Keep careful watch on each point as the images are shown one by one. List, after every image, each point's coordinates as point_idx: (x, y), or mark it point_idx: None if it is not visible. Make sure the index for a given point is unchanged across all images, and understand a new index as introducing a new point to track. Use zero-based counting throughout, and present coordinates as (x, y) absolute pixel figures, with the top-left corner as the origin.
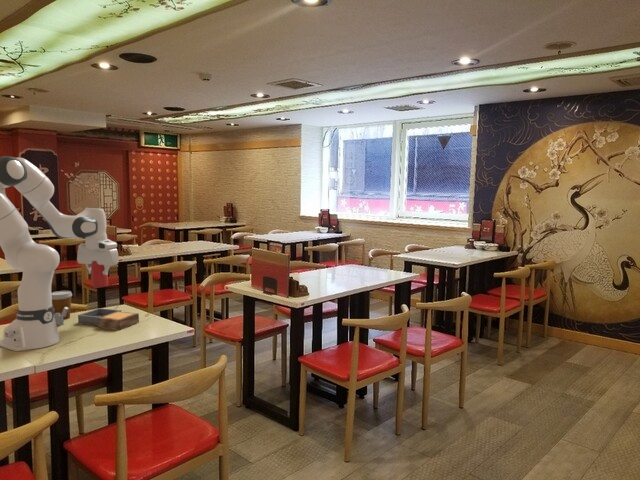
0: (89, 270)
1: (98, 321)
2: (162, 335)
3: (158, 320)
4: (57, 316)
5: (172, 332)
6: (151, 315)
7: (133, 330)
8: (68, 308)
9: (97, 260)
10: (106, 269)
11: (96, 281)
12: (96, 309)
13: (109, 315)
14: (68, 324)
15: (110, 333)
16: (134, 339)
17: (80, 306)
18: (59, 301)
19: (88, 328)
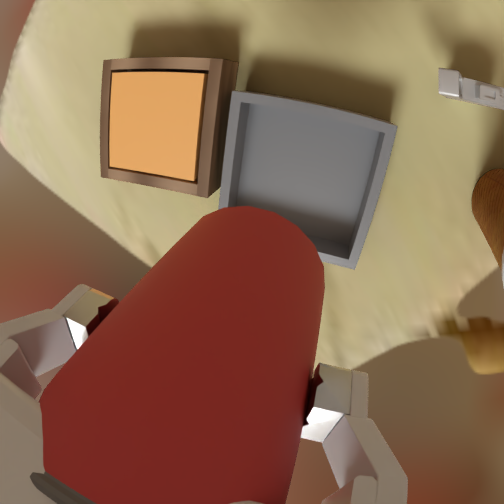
0: (344, 409)
1: (226, 60)
2: (14, 70)
3: (86, 200)
4: (478, 81)
5: (9, 101)
6: (141, 257)
7: (88, 72)
8: (439, 88)
9: (7, 477)
10: (27, 325)
11: (215, 230)
12: (357, 246)
13: (192, 114)
14: (423, 96)
15: (139, 12)
16: (50, 8)
17: (476, 360)
18: None
19: (276, 38)
